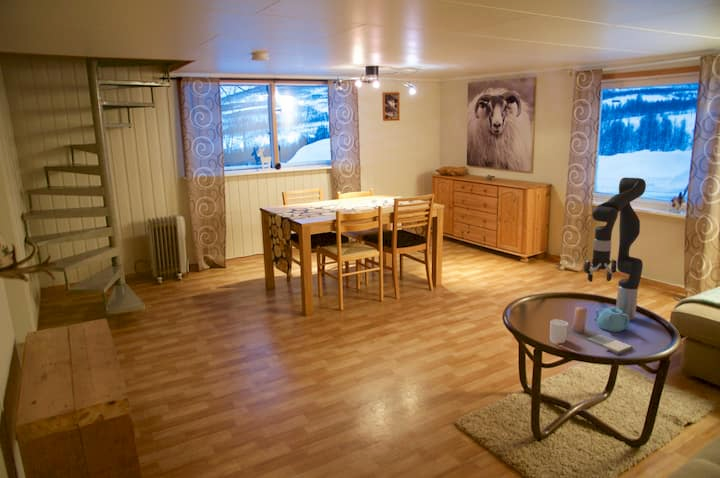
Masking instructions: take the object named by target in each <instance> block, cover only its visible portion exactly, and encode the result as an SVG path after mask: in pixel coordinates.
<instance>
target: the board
mask: <svg viewBox="0 0 720 478" xmlns="http://www.w3.org/2000/svg"><path fill="white" fill-rule="evenodd" d="M567 334H570V335H572V336H574V337H577V338H579V339H581V340H584V341H586V342H589V343H591V344H594V345H597V346H599V347H602V348H603V349H606V352H608V353H610V354H613V355H615V354H616V356H618V354H619V355H622V354H624V353H627V352H629V351H632V350H634V349H633V348H634V347H633V346H632V345H630V344H627V343H625V342H622V341H620V340H617V339H615V338H612V337H609V336H606V335H604V334H601V333H598V332H596V331H592V330H590V329H588V328H585V332H584V333H583V334H579V333H575V332H573V328H568V329H567Z"/></svg>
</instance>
